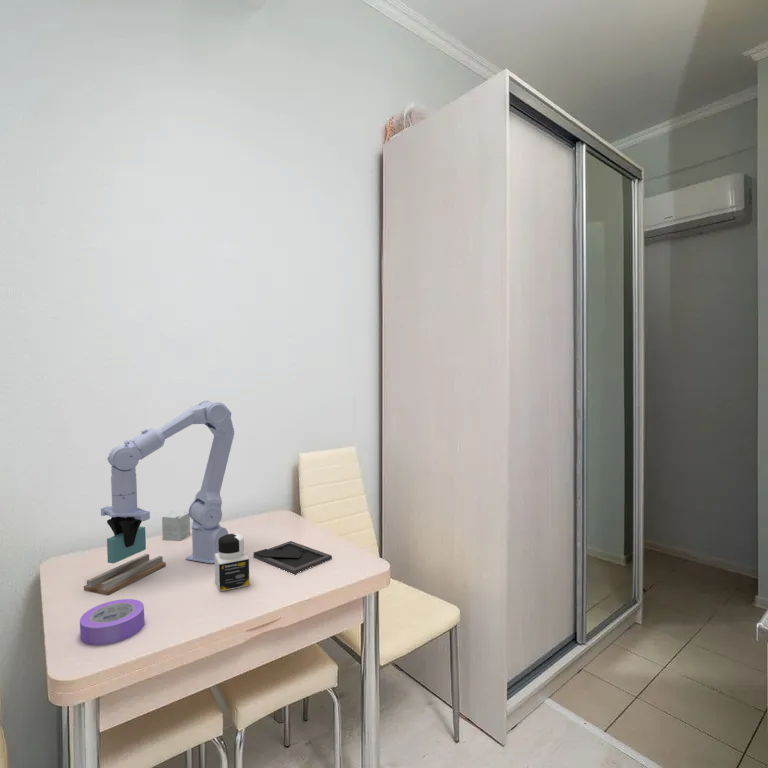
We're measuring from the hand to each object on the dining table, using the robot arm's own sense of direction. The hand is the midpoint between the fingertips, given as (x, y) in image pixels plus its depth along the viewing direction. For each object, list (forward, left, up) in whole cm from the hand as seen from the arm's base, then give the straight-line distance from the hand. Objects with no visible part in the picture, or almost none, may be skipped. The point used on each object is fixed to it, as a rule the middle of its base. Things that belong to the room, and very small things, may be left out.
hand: (126, 545), depth 128 cm
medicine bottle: (-28, -6, -9) cm, 30 cm away
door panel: (0, 0, -3) cm, 3 cm away
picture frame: (-34, -25, -9) cm, 43 cm away
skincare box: (+10, -28, -9) cm, 31 cm away
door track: (0, 0, -8) cm, 8 cm away
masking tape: (-18, +20, -9) cm, 28 cm away
